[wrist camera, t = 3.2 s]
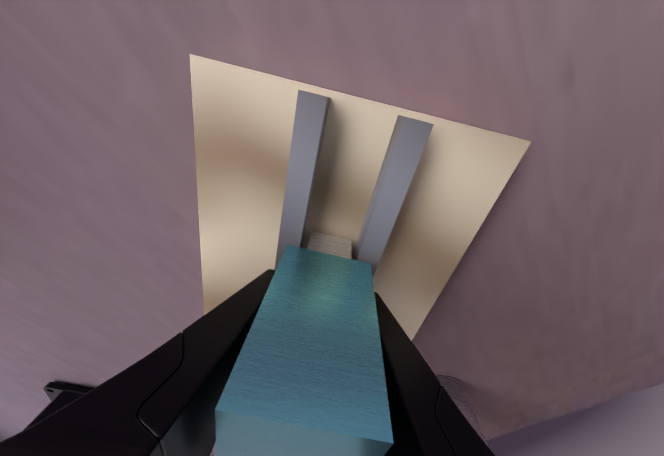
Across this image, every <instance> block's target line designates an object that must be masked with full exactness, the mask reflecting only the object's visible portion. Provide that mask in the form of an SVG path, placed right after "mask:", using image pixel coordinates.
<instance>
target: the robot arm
mask: <svg viewBox="0 0 664 456" xmlns="http://www.w3.org/2000/svg"><path fill="white" fill-rule="evenodd" d="M275 271H276V270H273V269H268V270H266V271H265V272H264V273H262V274H261V275H259V276H258V277H257V278H255V279H254V280H252V281H251V282H250V283H248V284H247V285H245V286H244V287H243V288H241V289H240V290H239V291H237V292H236V293H234V294H233V295H232V296H230V297H229V298H227V299H226V300H225V301H223V302H222V303H220V304H219V305H218V306H216V307H215V308H214V309H212V310H211V311H209V312H208V313H207V314H205V315H204V316H202V317H201V318H200V319H198V320H197V321H196V322H194V323H193V324H191V325H190V326H189V327H187V328H186V329H184V330H183V334H182V333H179V334H177V335H176V336H175V337H173V338H172V339H170V340H169V341H168V342H166V343H165V344H163V345H162V346H160V347H159V348H157V349H156V350H154V351H153V352H152V353H150V354H149V355H147V356H146V357H144V358H143V359H141V360H139V361H138V362H136V363H135V364H133V365H132V366H130V367H128V368H127V369H125V370H124V371H122V372H120V373H119V374H117V375H116V376H114V377H112V378H111V379H109V380H107V381H106V382H104V383H102V384H101V385H99V386H98V387H96V388H94V389H87V388H82V387H77V386H71V385H66V384H61V383H55V382H49V383H48V384H47V385H46V386H45V387H44V388H43V389H44V391H45V392H46V394H47V395H48V397H49V398H50V400H51V401H52V402H51V403H50V404H49V405H48V406H47V407H46V408H45V409H44V410H43V411H42V412H41V413H40V414H39V415H38V416H37V417H36V418H35V419H34V420H33V421H32V422H31V423H30V424H29V425H28V426H27V427H26V428H25V429H24V430H23V431H22V432H20V433H18V434H16V435H14V436H12V437H10V438H8V439H6V440H4V441H2V442H0V456H209V455H210V453H211V451H212V449H213V447H214V444H215V442H216V426H215V408H216V406H217V404H218V402H219V399H220V397H221V395H222V392H223V390H224V388H225V386H226V383H227V381H228V379H229V376H230V374H231V372H232V370H233V367H234V365H235V363H236V360H237V358H238V356H239V354H240V351H241V349H242V347H243V344H244V342H245V340H246V338H247V335H248V333H249V331H250V328H251V326H252V324H253V322H254V319H255V317H256V315H257V312H258V310H259V308H260V306H261V303H262V301H263V299H264V296H265V294H266V292H267V290H268V287H269V285H270V283H271V280H272V278H273V276H274V273H275ZM374 293H375V301H376V309H377V317H378V325H379V333H380V341H381V348H382V356H383V364H384V372H385V380H386V388H387V396H388V403H389V411H390V419H391V427H392V435H393V445H392V446H391V447H390V448H389V450H388V451H387V452H386V453H385V455H384V456H495V455H494V454H493V452H492V451H491V450H490V449H489V448H488V446H487V445H486V444H485V442H484V441H483V440H482V438H481V437H480V436H479V435H478V433H477V432H476V431H475V429H474V428H473V427H472V426H471V424H470V423H469V422H468V420H467V419H466V418H465V416H464V415H463V414H462V412H461V411H460V409H459V408H458V407H457V405H456V404H455V403H454V401H453V400H452V398H451V397H450V396H449V394H448V393H447V391H446V390H445V388H444V387H443V386H442V385H440V381H439V380H438V379H437V377H436V376H435V374H434V373H433V371H432V370H431V369H430V367H429V366H428V364H427V363H426V361H425V360H424V359H423V357H422V356H421V354H420V353H419V351H418V350H417V349H416V347H415V346H414V344H413V343H412V341H411V340H410V338H409V337H408V336H407V334H406V333H405V331H404V330H403V328H402V327H401V326H400V324H399V323H398V321H397V320H396V318H395V317H394V316H393V314H392V313H391V311H390V310H389V308H388V307H387V306H386V304H385V303H384V301H383V300H382V298H381V297H380V296H379V294H378V293H377V292H374Z"/></svg>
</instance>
